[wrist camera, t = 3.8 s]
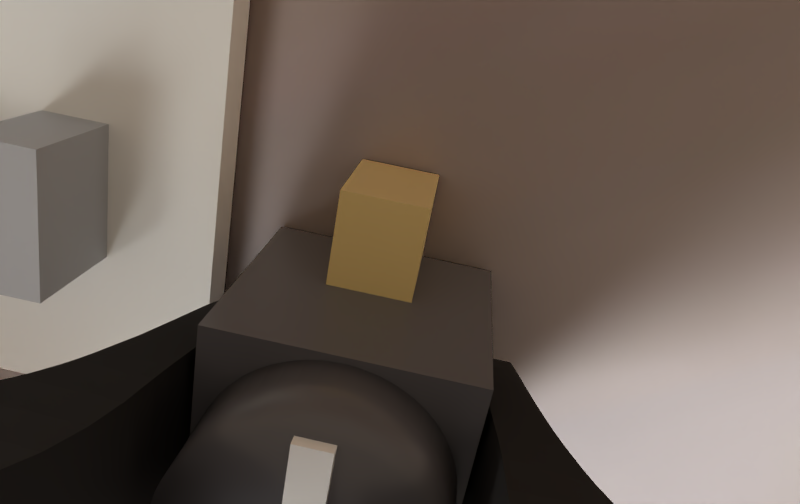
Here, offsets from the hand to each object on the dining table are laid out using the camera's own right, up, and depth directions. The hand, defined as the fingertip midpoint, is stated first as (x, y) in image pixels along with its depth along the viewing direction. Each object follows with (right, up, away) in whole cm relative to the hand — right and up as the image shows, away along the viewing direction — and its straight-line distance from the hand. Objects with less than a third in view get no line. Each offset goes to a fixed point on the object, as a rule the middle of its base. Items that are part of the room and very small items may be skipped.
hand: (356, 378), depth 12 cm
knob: (0, +1, +1) cm, 1 cm away
